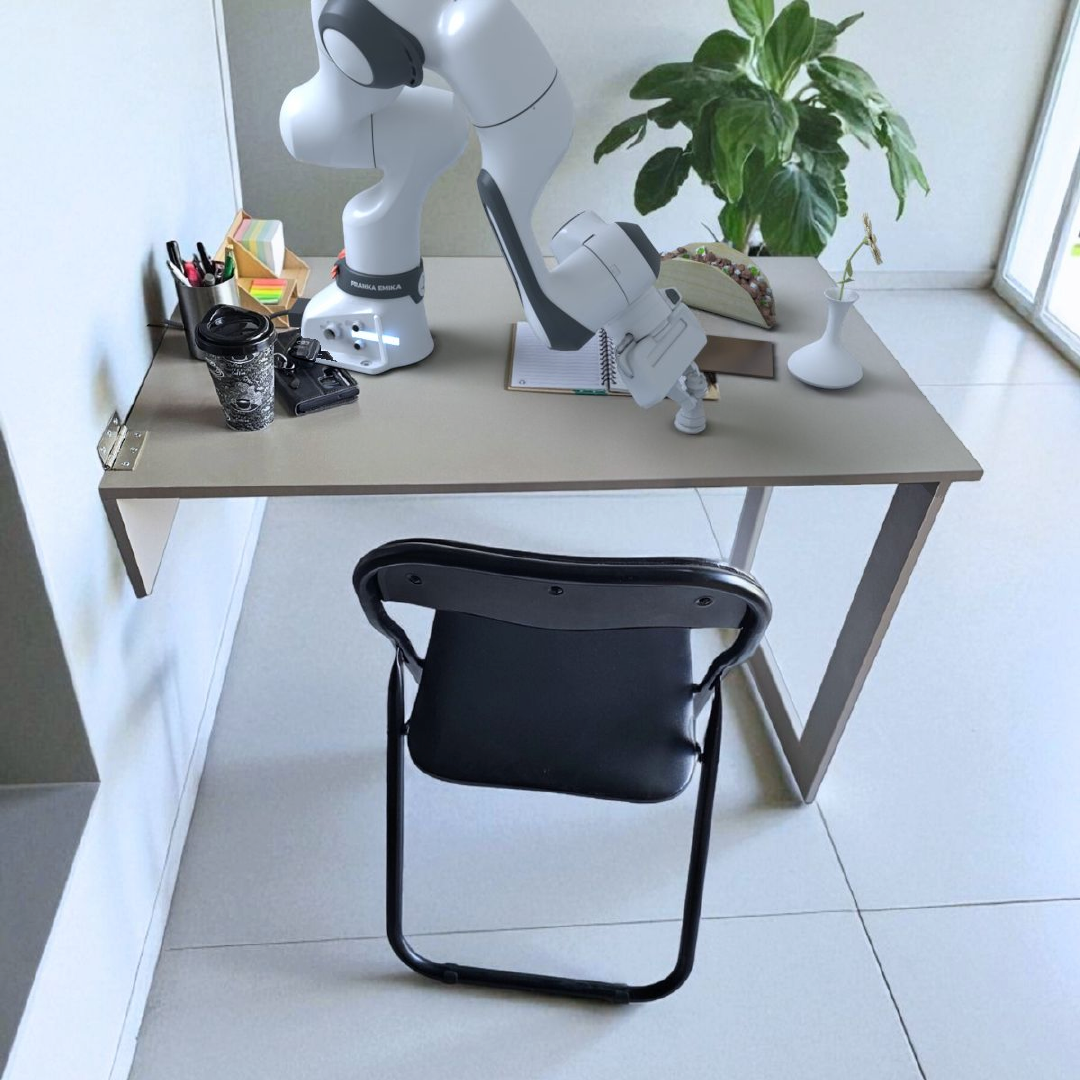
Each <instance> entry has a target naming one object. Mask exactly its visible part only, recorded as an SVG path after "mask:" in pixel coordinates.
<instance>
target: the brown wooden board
mask: <svg viewBox="0 0 1080 1080" xmlns="http://www.w3.org/2000/svg"><path fill="white" fill-rule="evenodd" d="M706 338H707V343H706V345H705V346H704V347H703V348H702V350H701V351H700V352H699V354H698V355H697V356H696V358H695V359H694V360H693V361H694V362H695V363H696V365H697V366H698V369H699V372H705V373H712V374H714V373H715V374H722V375H723V374H724V375H731V376H732V375H733V376H741V377H749V378H750V377H751V378H759V379H768V380H773V379H774V361H773V357H774V356H773V342H772V341H767V340H759V339H758V340H757V339H748V338H738V337H729V336H720V335H718V336H717V335H709V334H706Z"/></svg>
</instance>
